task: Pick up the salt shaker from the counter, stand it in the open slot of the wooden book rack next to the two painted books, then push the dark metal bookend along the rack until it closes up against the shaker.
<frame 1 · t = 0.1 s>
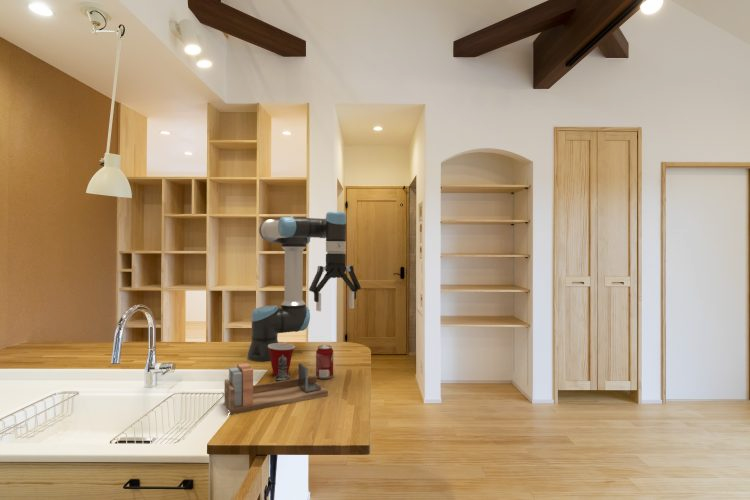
hand: (335, 309, 149), 28 cm above the counter, fingers open, 13 cm apart
plastic cup: (281, 375, 159), on the counter
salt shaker: (282, 387, 145), on the counter
soda can: (324, 377, 157), on the counter
bookend: (309, 376, 140), point 6 cm above the counter, slide at 0.0 cm
wooden book rack: (277, 398, 134), on the counter
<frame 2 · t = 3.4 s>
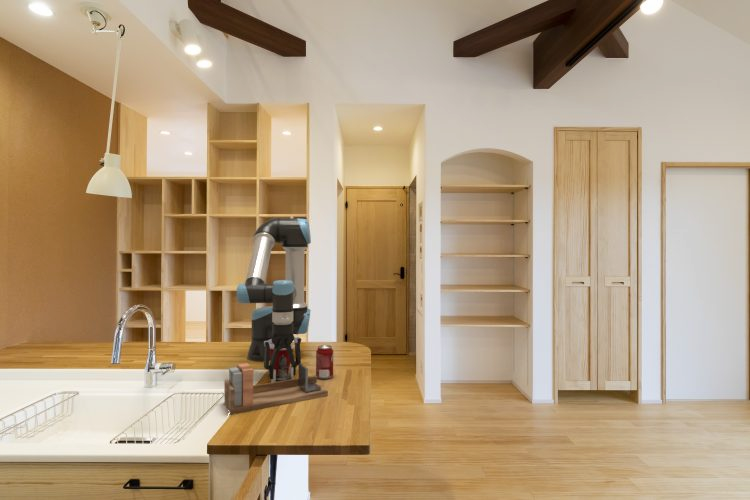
hand: (282, 385, 145), 0 cm above the counter, fingers closed on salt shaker, 6 cm apart
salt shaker: (282, 387, 145), on the counter, touching gripper
everything else where it was.
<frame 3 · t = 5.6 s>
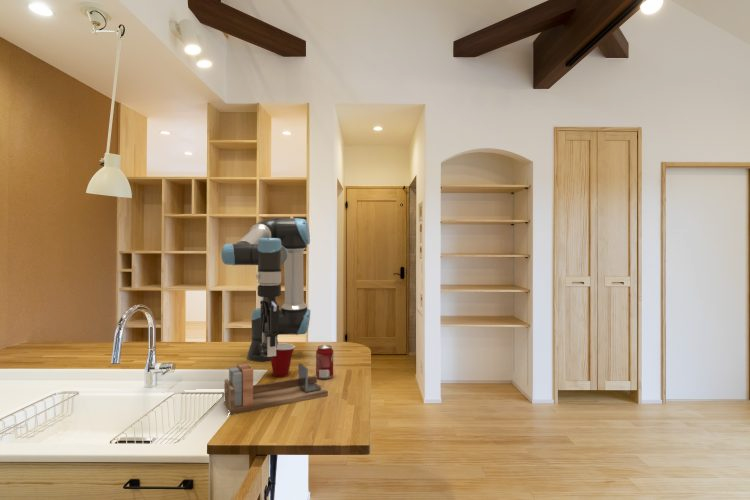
hand: (268, 353, 132), 16 cm above the counter, fingers closed on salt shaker, 6 cm apart
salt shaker: (268, 355, 132), point 15 cm above the counter, touching gripper
everything else where it was.
when the fingers open (4 cm above the counter, at t = 8.0 s): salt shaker drops 2 cm, resting on wooden book rack.
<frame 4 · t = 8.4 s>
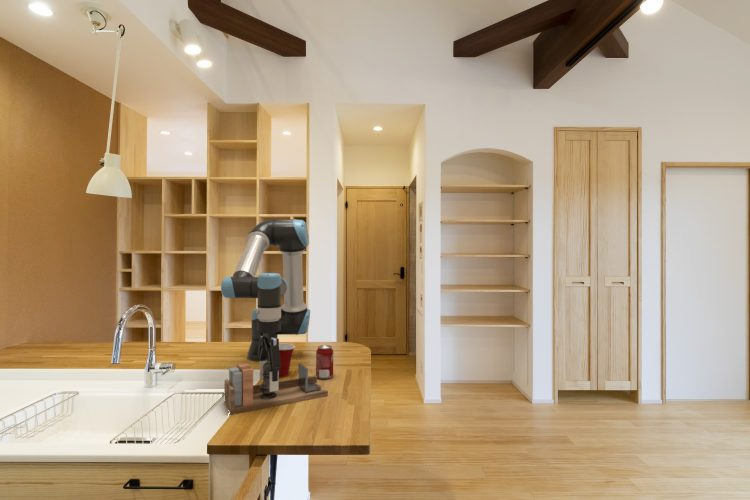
hand: (268, 385, 132), 5 cm above the counter, fingers open, 11 cm apart
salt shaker: (268, 396, 132), point 1 cm above the counter, touching wooden book rack
everything else where it was.
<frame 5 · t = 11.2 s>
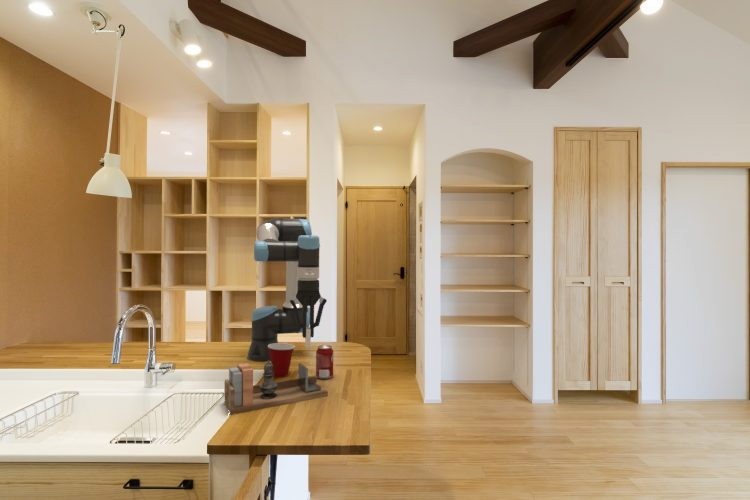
hand: (307, 346, 139), 16 cm above the counter, fingers closed
nothing on the counter moved.
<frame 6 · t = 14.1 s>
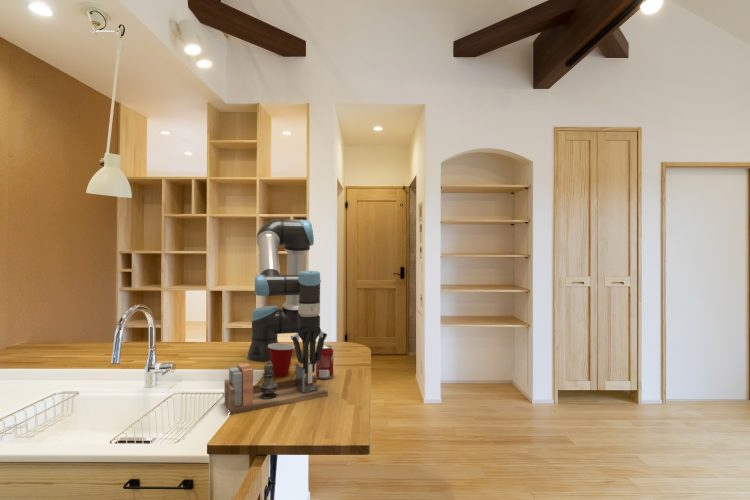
hand: (308, 381, 139), 4 cm above the counter, fingers closed
bookend: (306, 376, 139), point 6 cm above the counter, slide at 1.1 cm, touching gripper
everything else where it was.
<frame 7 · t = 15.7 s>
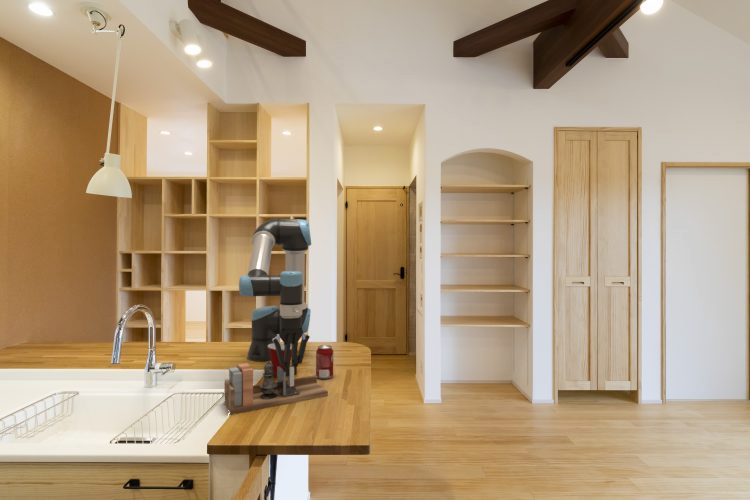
hand: (290, 385, 136), 4 cm above the counter, fingers closed
bookend: (288, 379, 136), point 6 cm above the counter, slide at 7.7 cm, touching gripper
everything else where it was.
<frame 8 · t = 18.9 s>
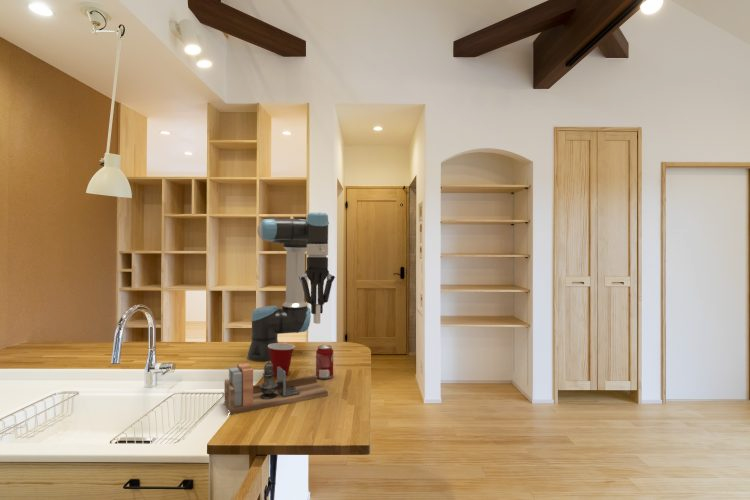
hand: (316, 322, 141), 24 cm above the counter, fingers closed
bookend: (288, 379, 136), point 6 cm above the counter, slide at 7.7 cm
everything else where it was.
at the end: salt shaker inside the target area (0.0 cm from its centre), point 1.3 cm above the counter; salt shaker tilted 0°; bookend slide at 7.7 cm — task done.
